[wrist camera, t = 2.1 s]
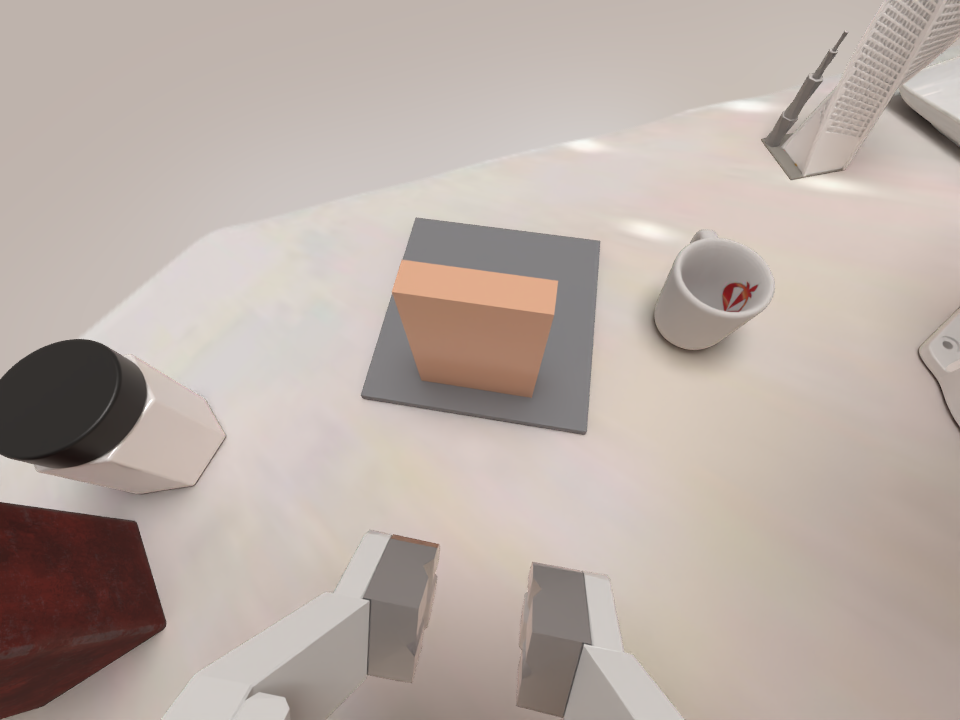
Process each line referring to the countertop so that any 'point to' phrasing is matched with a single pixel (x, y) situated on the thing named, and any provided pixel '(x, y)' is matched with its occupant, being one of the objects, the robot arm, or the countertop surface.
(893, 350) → the countertop surface
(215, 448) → the jar
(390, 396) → the mat
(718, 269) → the cup
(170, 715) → the robot arm
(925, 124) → the countertop surface
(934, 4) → the skyscraper
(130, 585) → the dark red grey-topped box
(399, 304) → the peach rectangular block
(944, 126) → the square plate
